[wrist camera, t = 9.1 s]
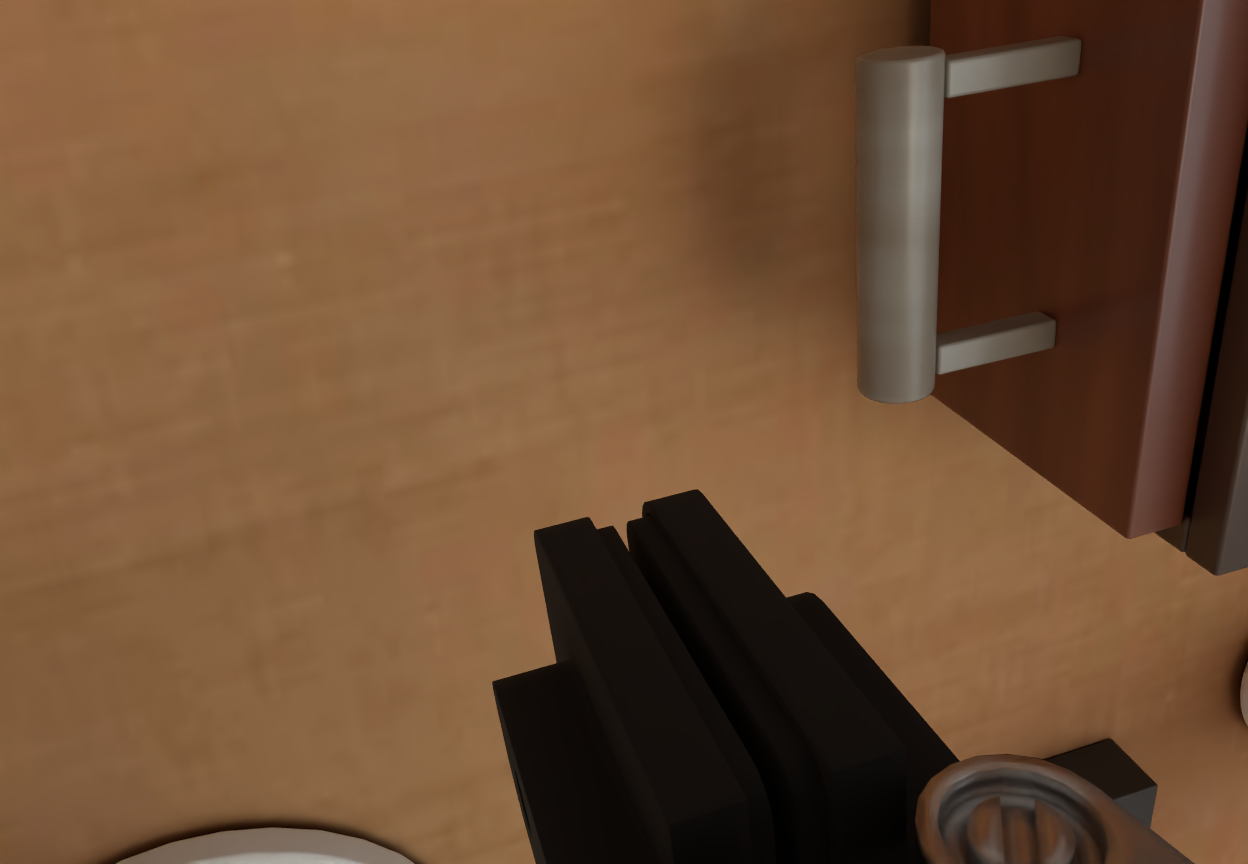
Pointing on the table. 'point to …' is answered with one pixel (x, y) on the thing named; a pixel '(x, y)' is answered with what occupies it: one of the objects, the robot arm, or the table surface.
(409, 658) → the table surface
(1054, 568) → the table surface
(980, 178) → the drawer
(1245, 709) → the water bottle
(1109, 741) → the control box
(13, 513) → the table surface
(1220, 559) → the cabinet
